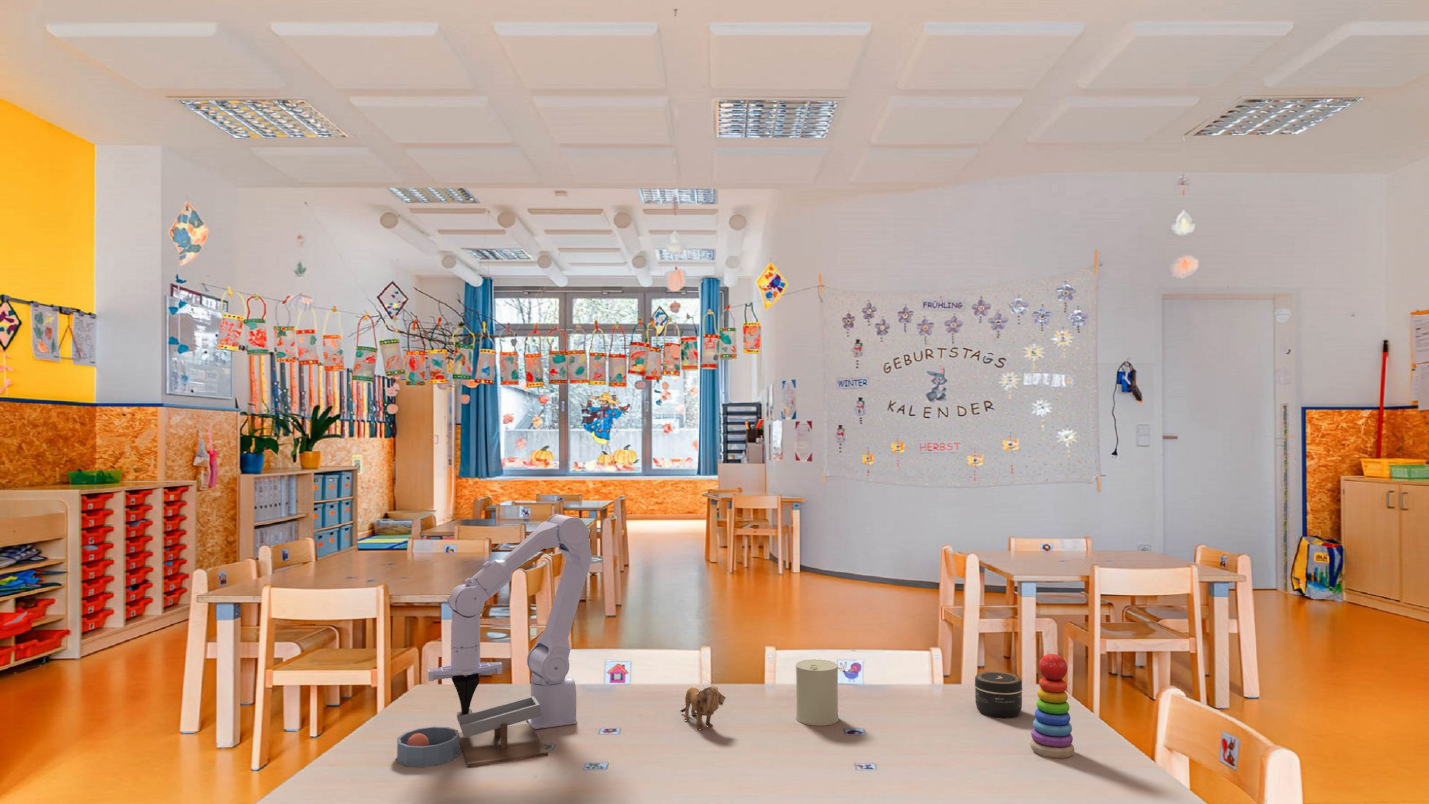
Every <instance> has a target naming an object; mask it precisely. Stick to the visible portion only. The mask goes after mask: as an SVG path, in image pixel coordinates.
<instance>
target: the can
mask: <svg viewBox="0 0 1429 804" xmlns="http://www.w3.org/2000/svg"><path fill="white" fill-rule="evenodd" d="M838 668H839V666H838V663H836V662H834V661H832V660H831V661H830V660H825V659H805V660H801V661H798V662H796V664H795V675H796V676H795V678H796V680H795V682H796V708H795V709H796V712H795V720H796V721H797V722H799V723H800V724H803V725H807V726H808V725H809V726H813V727H823V726H824V727H826V726H831V725H834V724H836V723H837V722H839V720H840V719H839V707H838V706H839V705H838V704H839V702H838V701H839V699H838V695H839V694H838V690H839V689H838V683H839V682H838V679H839V677H838V674H839V673H838V670H839V669H838Z"/></svg>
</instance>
